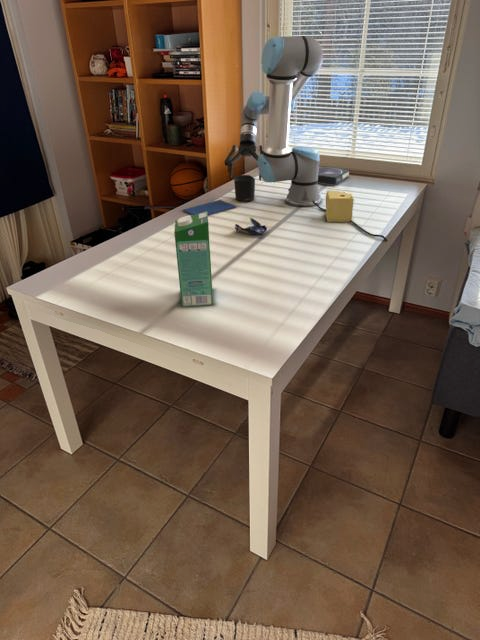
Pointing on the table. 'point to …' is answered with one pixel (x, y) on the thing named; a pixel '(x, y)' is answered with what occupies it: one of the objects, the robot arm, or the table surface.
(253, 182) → the pen holder
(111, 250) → the table surface
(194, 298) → the milk carton
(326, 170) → the portable cd player
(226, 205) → the blue cloth
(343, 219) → the cheese
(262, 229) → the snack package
